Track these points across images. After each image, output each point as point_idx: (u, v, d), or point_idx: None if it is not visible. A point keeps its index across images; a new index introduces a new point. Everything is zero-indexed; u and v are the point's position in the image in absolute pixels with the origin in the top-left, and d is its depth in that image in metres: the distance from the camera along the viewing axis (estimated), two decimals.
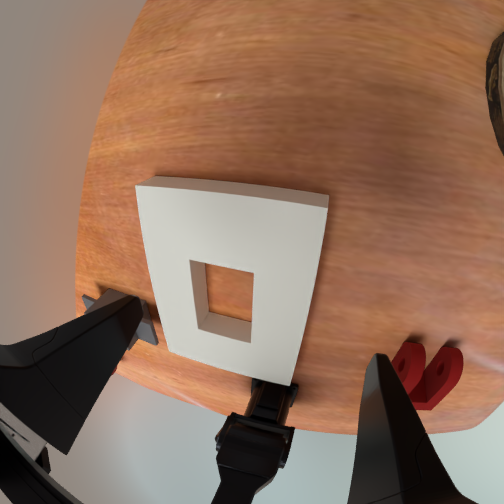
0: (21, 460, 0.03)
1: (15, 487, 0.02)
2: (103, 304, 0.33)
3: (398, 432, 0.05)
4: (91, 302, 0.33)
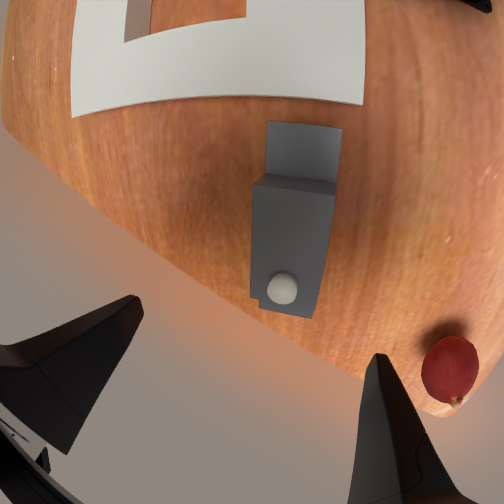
0: (21, 460, 0.03)
1: (15, 487, 0.02)
2: None
3: (398, 432, 0.05)
4: None
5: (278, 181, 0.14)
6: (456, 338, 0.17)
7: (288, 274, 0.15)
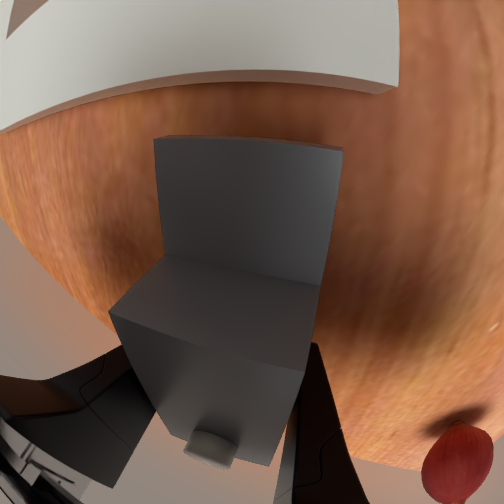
0: None
1: None
2: None
3: (306, 423, 0.05)
4: None
5: (174, 293, 0.06)
6: (473, 435, 0.10)
7: (217, 435, 0.07)
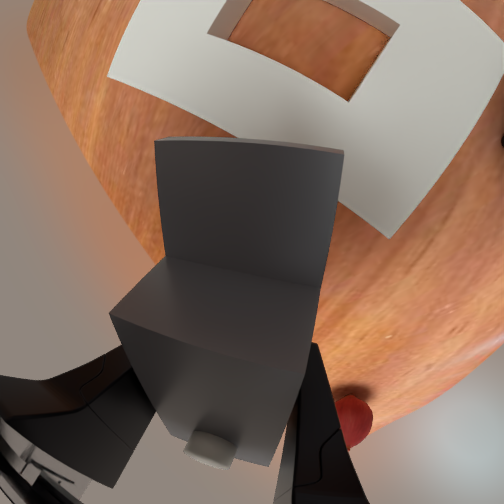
0: None
1: None
2: None
3: (305, 423, 0.05)
4: None
5: (174, 294, 0.06)
6: (361, 403, 0.24)
7: (216, 436, 0.07)
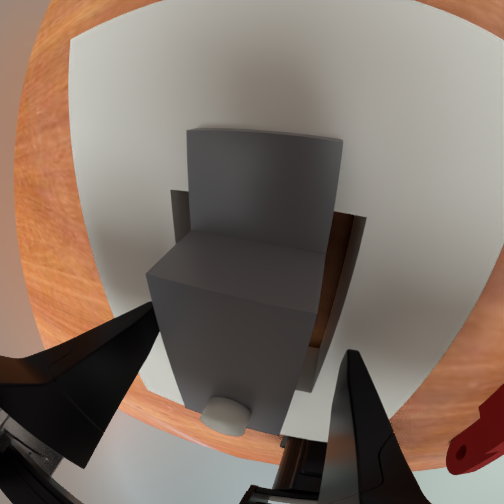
0: (21, 460, 0.03)
1: (15, 487, 0.02)
2: None
3: (362, 430, 0.05)
4: None
5: (203, 258, 0.07)
6: None
7: (232, 400, 0.08)
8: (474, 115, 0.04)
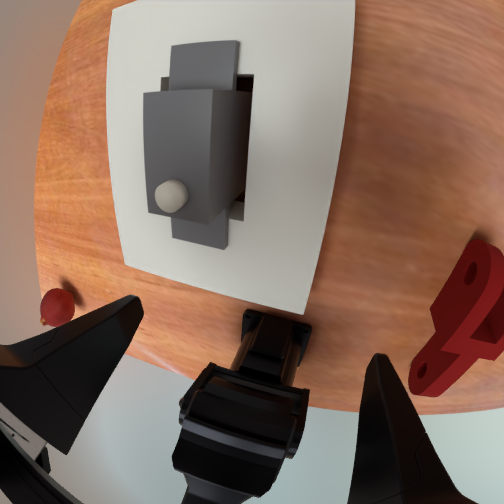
0: (21, 460, 0.03)
1: (15, 487, 0.02)
2: None
3: (398, 432, 0.05)
4: None
5: None
6: (71, 305, 0.33)
7: (177, 180, 0.14)
8: (308, 19, 0.10)
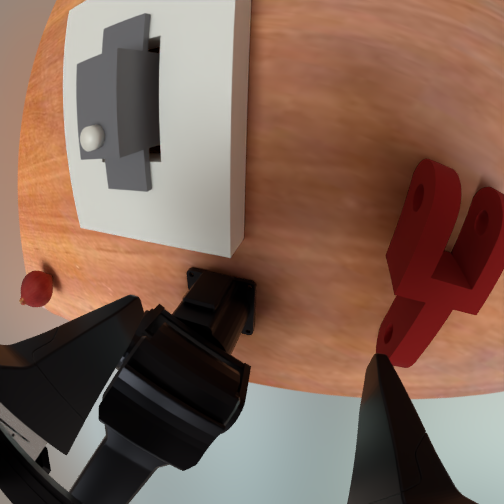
0: (21, 460, 0.03)
1: (15, 487, 0.02)
2: None
3: (398, 432, 0.05)
4: (107, 162, 0.17)
5: None
6: (48, 285, 0.33)
7: (97, 125, 0.13)
8: None
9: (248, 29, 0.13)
